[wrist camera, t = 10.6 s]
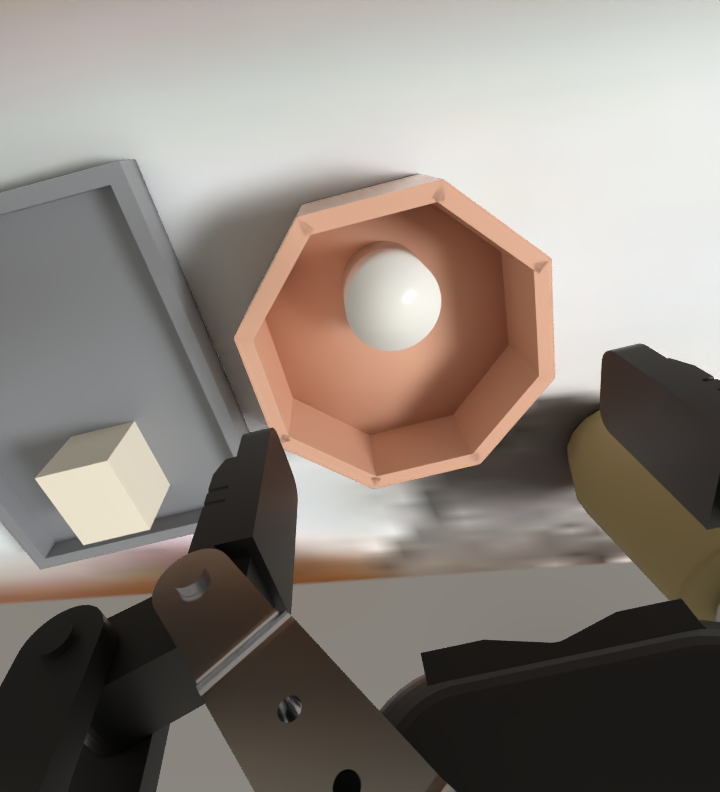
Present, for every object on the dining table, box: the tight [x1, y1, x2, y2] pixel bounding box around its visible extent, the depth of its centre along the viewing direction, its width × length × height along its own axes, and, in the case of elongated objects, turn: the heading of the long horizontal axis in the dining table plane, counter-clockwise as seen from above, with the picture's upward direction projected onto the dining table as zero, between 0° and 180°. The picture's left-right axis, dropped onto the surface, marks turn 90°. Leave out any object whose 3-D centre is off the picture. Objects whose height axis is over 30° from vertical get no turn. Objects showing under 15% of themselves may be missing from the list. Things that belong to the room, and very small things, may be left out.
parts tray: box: [0, 160, 250, 570], centre depth 26 cm, size 21×16×2 cm
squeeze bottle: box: [567, 410, 720, 622], centre depth 24 cm, size 8×8×18 cm
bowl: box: [234, 174, 555, 489], centre depth 24 cm, size 15×15×5 cm
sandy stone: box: [35, 421, 170, 545], centre depth 27 cm, size 5×4×4 cm
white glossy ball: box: [342, 241, 441, 351], centre depth 23 cm, size 4×4×4 cm
